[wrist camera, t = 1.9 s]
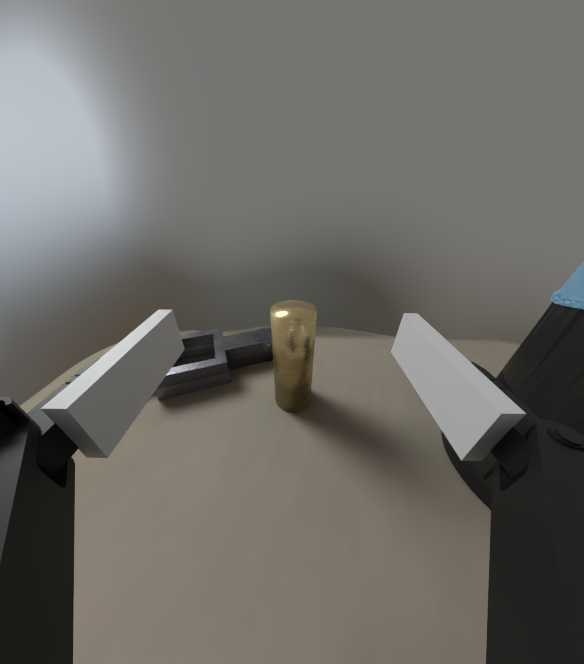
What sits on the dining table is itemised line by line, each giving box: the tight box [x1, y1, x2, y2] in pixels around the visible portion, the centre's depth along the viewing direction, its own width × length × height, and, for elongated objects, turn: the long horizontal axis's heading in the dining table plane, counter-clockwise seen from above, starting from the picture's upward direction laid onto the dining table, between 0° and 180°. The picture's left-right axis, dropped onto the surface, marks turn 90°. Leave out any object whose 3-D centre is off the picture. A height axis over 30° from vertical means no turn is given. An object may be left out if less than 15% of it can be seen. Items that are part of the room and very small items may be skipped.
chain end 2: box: [157, 328, 273, 389], centre depth 35 cm, size 19×10×4 cm, turn 110°
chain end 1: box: [155, 344, 231, 400], centre depth 33 cm, size 19×10×3 cm, turn 110°
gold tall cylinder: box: [270, 300, 317, 412], centre depth 27 cm, size 5×5×14 cm
